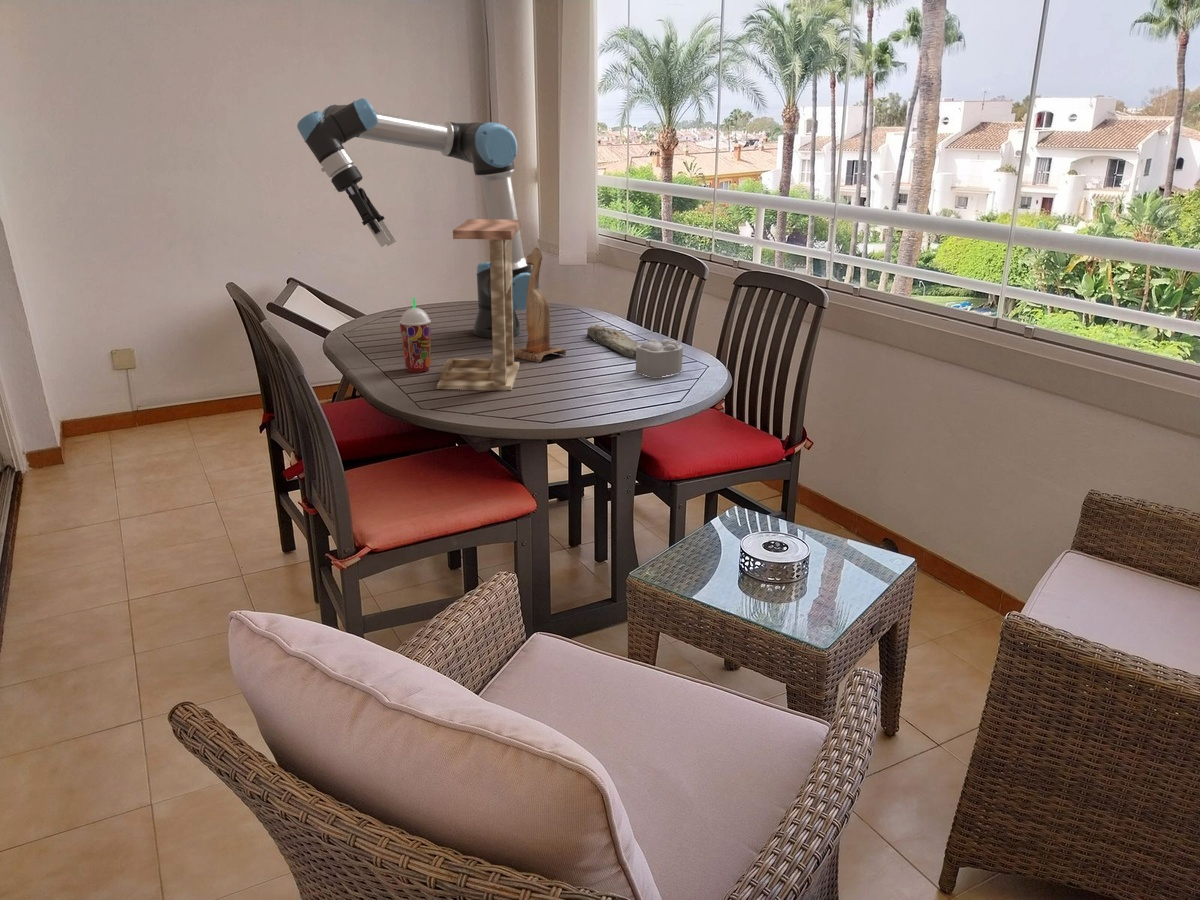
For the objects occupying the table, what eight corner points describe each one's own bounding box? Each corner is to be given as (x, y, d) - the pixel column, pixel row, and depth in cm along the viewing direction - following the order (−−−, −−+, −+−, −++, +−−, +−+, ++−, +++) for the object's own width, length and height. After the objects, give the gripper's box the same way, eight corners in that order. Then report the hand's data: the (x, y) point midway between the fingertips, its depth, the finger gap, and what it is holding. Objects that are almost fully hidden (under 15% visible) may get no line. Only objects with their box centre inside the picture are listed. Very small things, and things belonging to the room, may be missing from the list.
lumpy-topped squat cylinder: (630, 371, 242) (631, 340, 239) (666, 364, 249) (668, 334, 246) (654, 379, 234) (655, 348, 231) (690, 372, 241) (692, 342, 238)
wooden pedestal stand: (436, 390, 221) (427, 229, 207) (452, 364, 245) (445, 218, 231) (514, 391, 221) (511, 231, 207) (523, 365, 246) (520, 219, 231)
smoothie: (426, 375, 235) (422, 301, 227) (397, 373, 236) (392, 299, 229) (438, 367, 242) (434, 295, 235) (410, 365, 244) (405, 294, 237)
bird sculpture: (536, 351, 262) (531, 243, 251) (567, 356, 256) (563, 245, 245) (512, 358, 254) (506, 247, 243) (543, 364, 247) (538, 249, 236)
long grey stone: (626, 366, 252) (656, 364, 256) (628, 348, 250) (658, 347, 254) (578, 334, 281) (606, 333, 285) (580, 318, 279) (607, 317, 283)
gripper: (338, 182, 238) (383, 250, 243) (320, 176, 213) (370, 252, 219) (361, 167, 237) (405, 236, 243) (346, 160, 213) (395, 236, 219)
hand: (389, 244), depth 231 cm, fingers open, 13 cm apart
